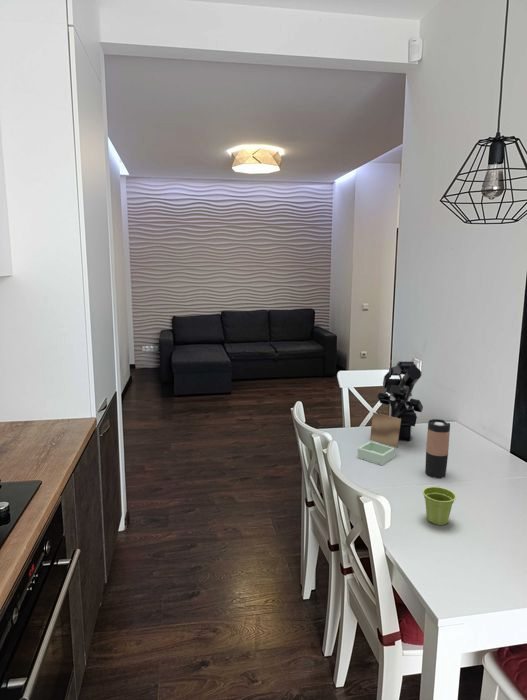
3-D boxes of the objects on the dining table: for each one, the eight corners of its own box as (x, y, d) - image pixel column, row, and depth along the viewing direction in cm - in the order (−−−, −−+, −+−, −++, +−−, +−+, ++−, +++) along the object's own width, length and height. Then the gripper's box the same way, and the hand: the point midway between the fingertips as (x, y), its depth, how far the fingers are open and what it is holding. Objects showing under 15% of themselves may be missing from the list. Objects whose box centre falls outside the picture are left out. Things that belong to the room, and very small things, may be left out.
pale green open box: (370, 450, 196) (370, 441, 195) (394, 457, 188) (395, 448, 188) (357, 457, 188) (357, 448, 188) (382, 465, 181) (382, 455, 180)
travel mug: (423, 476, 172) (427, 424, 168) (425, 468, 179) (428, 418, 175) (446, 480, 169) (450, 427, 165) (446, 471, 176) (450, 420, 172)
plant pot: (417, 511, 148) (418, 486, 146) (447, 512, 148) (449, 486, 146) (426, 528, 139) (428, 501, 137) (458, 528, 139) (460, 501, 137)
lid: (369, 440, 195) (370, 439, 196) (396, 447, 188) (397, 447, 188) (373, 412, 195) (374, 412, 195) (400, 419, 187) (401, 418, 187)
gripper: (379, 373, 202) (365, 404, 196) (421, 381, 190) (408, 413, 184) (387, 387, 209) (374, 417, 203) (428, 395, 197) (415, 427, 191)
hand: (392, 418), depth 195 cm, fingers closed
